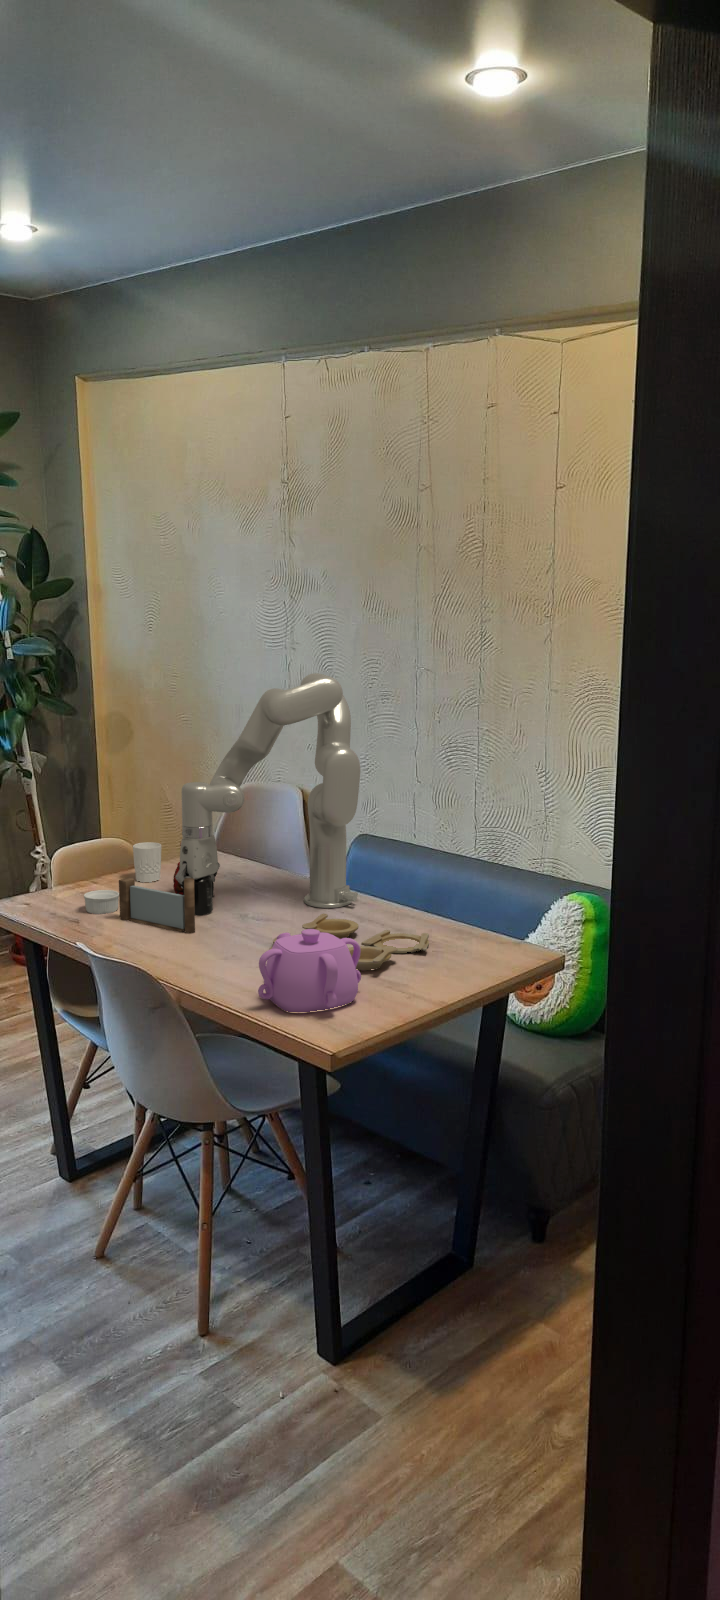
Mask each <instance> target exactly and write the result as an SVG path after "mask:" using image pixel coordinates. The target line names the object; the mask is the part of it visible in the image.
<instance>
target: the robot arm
mask: <svg viewBox="0 0 720 1600" xmlns="http://www.w3.org/2000/svg"><path fill="white" fill-rule="evenodd" d="M313 717H316V719H317V736H316V747H315V756H314V767H315V769H316V771H317V772H318V774H320V775H321V776H322V782H321V783H319V784H316V785H315V786H314V787H313V788H312V790H311V791H310V793H309V795H308V797H307V814H308V823H309V824H308V825H309V893H308V894H306V895H305V896H304V897H303V902H304V904H306V905H307V906H310V907H315V908H323V909H324V908H325V909H333V908H334V909H335V908H341V907H346V906H348V905H350V904H351V903H352V902H356V901H357V899H358V891H351V890H350V885H348V884H347V826H346V825H348V824H349V823H350V822H352V821H353V818H354V817H355V815H356V813H357V809H358V802H359V793H360V780H361V763H360V759H359V757H358V755H357V754H356V752H355V751H354V750H353V749H352V748H351V730H352V729H351V727H352V717H351V710H350V707H349V704H348V701H347V699H346V698H345V695H344V692H343V688H342V685H341V683H340V682H339V681H338V680H337V679H336V678H334V677H332V676H330V675H326V674H322V673H319V672H318V673H316V672H313V673H310V674H307V675H306V676H305V677H304V678H303V679H302V681H301V682H300V685H298V686H295V687H292V688H287V689H285V690H284V689H282V688H270V689H267V690H266V691H265V692H264V693H263V694H262V695H261V696H260V698H259V700H258V702H257V704H256V705H255V707H254V709H253V711H252V713H251V714H250V716H249V718H248V721H247V722H246V724H245V726H244V728H243V730H242V731H241V734H240V735H239V736H238V738H237V740H236V741H235V742H234V743H233V745H232V747H230V749H229V751H228V752H227V753H226V754H225V755H224V757H223V759H222V760H221V762H220V764H219V765H218V767H217V769H216V771H215V773H214V774H213V777H212V779H211V781H210V783H207V782H202V781H193V782H191V781H190V782H186V783H184V784H183V785H182V787H181V830H182V832H181V835H182V836H181V837H182V838H181V842H180V843H181V846H180V851H179V862H180V870H179V871H178V873H177V874H176V876H175V878H176V880H177V881H178V882H179V884H180V885H181V888H183V895H184V879H186V878H193V879H194V881H195V879H199V878H203V877H206V876H209V877H210V878H211V880H212V899H213V898H214V897H215V895H214V893H215V892H214V890H215V888H214V883H215V881H216V877H217V874H218V872H219V869H220V867H221V864H220V862H219V858H218V848H217V842H216V841H217V840H216V838H215V837H216V836H215V835H214V834H213V831H214V830H213V812H214V813H215V812H217V813H225V814H229V813H230V814H231V813H235V812H237V811H239V810H240V809H241V808H242V807H243V806H244V803H245V798H246V797H245V793H244V791H243V789H242V788H241V785H242V783H243V782H244V780H245V778H246V776H248V773H249V772H250V771H251V769H252V768H253V767H254V766H255V765H256V764H257V763H259V762H261V761H262V760H264V759H266V757H267V756H269V754H270V752H271V750H272V749H273V747H274V745H275V743H276V741H277V739H278V738H279V735H280V734H281V732H282V730H283V728H284V726H289V725H294V724H296V723H300V722H302V721H305V720H308V719H311V718H313ZM194 900H195V899H194Z"/></svg>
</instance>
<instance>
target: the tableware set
mask: <svg viewBox="0 0 720 1600" xmlns="http://www.w3.org/2000/svg"><path fill="white" fill-rule="evenodd" d="M328 917H329V915H328V914H327V913H321V914H320V915H318V916H317V917H316V918H315V919H314V920H312V921H311V922H306V923H303V924H302V929H303V930H306V929H316V930H319V931H320V932H324V933H329V934H332V935H334V936H336V937H337V938H339V939H342V938H347V937H348V938H349V937H350V935H351V934H352V933H354V932H356V931H358V929H359V924H358V922H355V921H353V920H350V919H345V918H328ZM429 938H430V934H429V933H428V932H423V933H422V932H421V934H420V935H419V934H414V933H406V932H405V933H404V932H403V933H402V932H400V933H399V932H398V933H396V932H395V933H391V930H389V929H384V930H382V931H380V932H378V933H377V934H375V935H373V936H371V937H369V938H367V939H365V940H363V941H362V942H361V944H360V945H359V946H360V949H361V953H360V958H359V961H358V964H357V966H356V968H355V969H358V971H360V970H371V969H376V968H378V969H380V968H381V966H382V964H383V963H384V962H387V961H389V960H390V959H391V958H392V954H408V953H407V952H411V953H416V951H417V952H420V950H421V951H423V952H424V951H427V950H428V947H429V945H430V941H429ZM395 939H411V940H415V941H417V942H419V944H416V945H415V946H414V947H408V948H396V947H393V946H387V945H383V943H384V942H386V941H389V940H395ZM276 940H277V937H275V938H274V939H273V940H272V946H270V947H269V948H268V950H270V949H272V947H273V945H274V943H275V941H276ZM348 949H349V951H350V954H351V957H352V955H353V951H354V947H353V946H352V947H348ZM379 967H380V968H379ZM376 970H377V969H376ZM371 971H372V970H371Z"/></svg>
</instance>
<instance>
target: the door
mask: <svg viewBox="0 0 720 1600" xmlns="http://www.w3.org/2000/svg"><path fill="white" fill-rule="evenodd" d="M130 907H131V918H134V919H139V920H144V921H148V922H153V923H158V924H162V925H167V926H171V927H176V928H181V929H185V908H184V895H180V894H175V892H174V893H173V892H169V891H164V890H160V889H159V890H158V889H154V888H148V887H142V886H138V885H135V886H134V885H133V886H130Z"/></svg>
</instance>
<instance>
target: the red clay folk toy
mask: <svg viewBox="0 0 720 1600" xmlns="http://www.w3.org/2000/svg"><path fill="white" fill-rule="evenodd" d="M179 844H180V846H179V847H181V842H179ZM176 866H177V867H176V868H175V870H174V874H173V878H172V879H173V880H172V881H173V890H174V893H175V894H180V895H183V888H181V885H180V884H179V882H178V881H177V880H176V878H175V876H176V874H177V873H178V871H179V870H180V861H179V862H178V863H177V865H176Z"/></svg>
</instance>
